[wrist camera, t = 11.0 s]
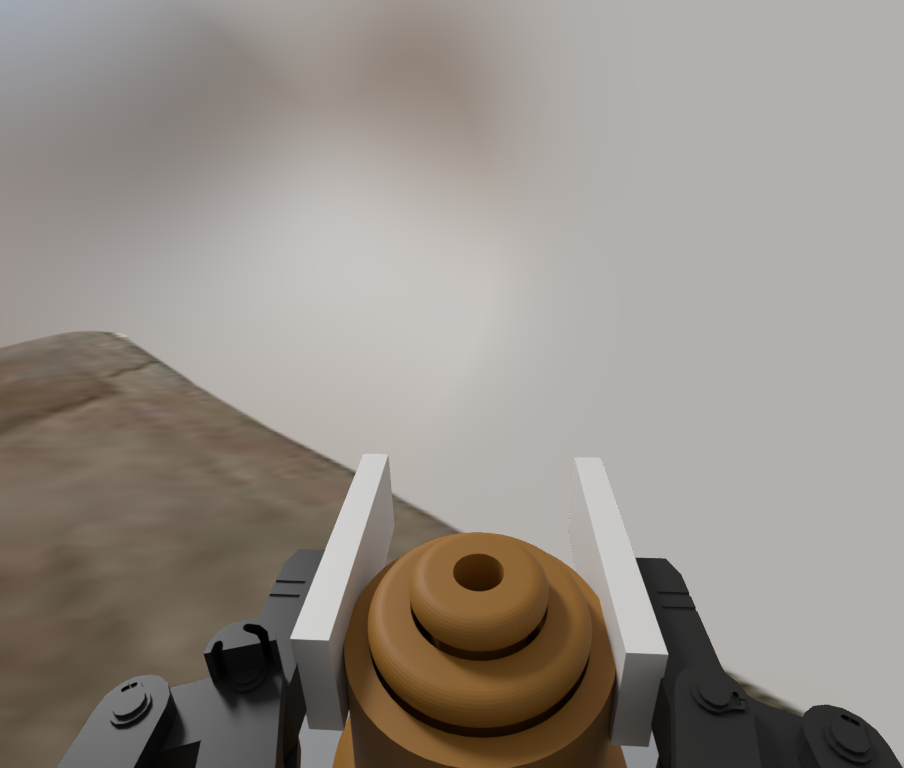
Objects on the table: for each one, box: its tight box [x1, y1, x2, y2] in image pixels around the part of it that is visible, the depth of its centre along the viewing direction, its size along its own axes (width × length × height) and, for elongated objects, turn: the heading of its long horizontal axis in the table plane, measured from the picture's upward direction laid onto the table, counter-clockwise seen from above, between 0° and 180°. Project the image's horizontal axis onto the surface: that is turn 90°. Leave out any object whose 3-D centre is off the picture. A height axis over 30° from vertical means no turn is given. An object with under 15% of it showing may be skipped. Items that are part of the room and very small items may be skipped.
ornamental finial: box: [332, 532, 627, 768], centre depth 12 cm, size 8×8×8 cm
